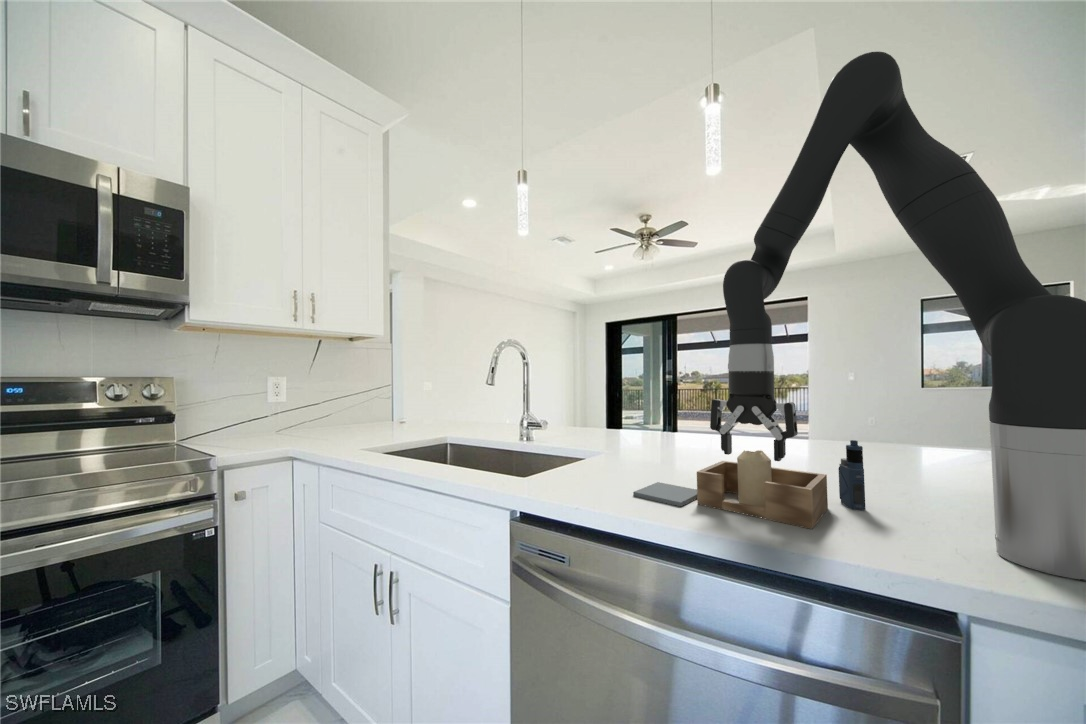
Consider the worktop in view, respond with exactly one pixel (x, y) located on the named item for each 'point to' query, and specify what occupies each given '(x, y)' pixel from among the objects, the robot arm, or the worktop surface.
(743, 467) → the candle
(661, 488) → the mat
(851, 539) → the worktop surface
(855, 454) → the vaping device
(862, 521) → the worktop surface
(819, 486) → the box
